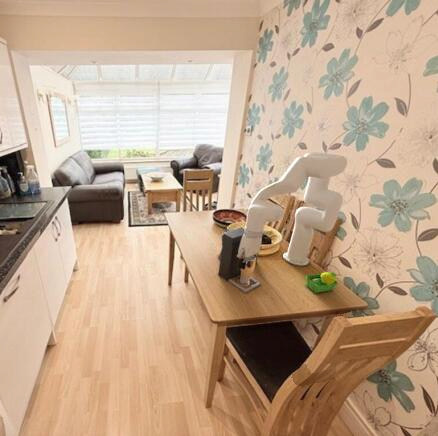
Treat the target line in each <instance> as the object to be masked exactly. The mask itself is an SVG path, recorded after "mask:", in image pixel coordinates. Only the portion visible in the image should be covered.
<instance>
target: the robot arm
mask: <svg viewBox="0 0 438 436" xmlns="http://www.w3.org/2000/svg"><path fill="white" fill-rule="evenodd" d="M347 166H348V159H347V158H346V157H345V156H344V155H340V154H333V153H325V152H315V151H314V152H313V151H312V152H307V153H306V154H304V155H302V156H298V157H297V158H296V159H295V160H294V161H293V162H292V164H291V165H290V166H289V167H288V169H287V170H286V172H284V174H283V175H282V176H281V178H280V179H279V180H278V181H276V182H273V183H271V184H269V185H267V186H265V187H264V188H262V189H261V190H259V191H258V192H257V194H256V195H255V196H254V198H252V200H251V203H250V204H249V207H248V209H247V215H246V220H245V225H244V226H245V227H244V229H245V231H244V235H243V237H242V239H241V242H240V246H239V251H238V253H239V254H238V255H237V257H238V259H239V265H238V266H239V267H240V268H241V269H243V270H244V269H245V265H246V262H245V261H246V259H247V257H250V256H252V255H254V256H255V257H256V259H257V260H258V256H259V253H260V252H261V250H262V248H263V247H262V243H263V242H262V240H263V235H264V229H265V224H266V223H272V222H273V223H274V222H277V221H280V220H281V219H282V218H283V217H284V214H285V209H284V208H283V207H282V206H280V205H279V204H276V203H273V202H270V201H268V200H269V199H270V198H273V197H274V196H275V197H276V196H278V195H286V194H293V193H296V192H298V191H299V189H300V188H301V187H302V186H303V184H304V183H305V182H306V181H307V179H308V181H307V185H306V187H305V192H304V196H303V202H304V204H306V205H309V206H301V207H299V208H298V209H296V211H295V214H294V227H293V230H292V234H291V238H290V241H289V244H288V248H287V252H284V253H283V255H282V257H283V259H284V260H285V261H286V262H287V263H289V264H291V265H294V266H302V267H304V266H308V265H309V263H310V260H309V258H308V256H309V255H308V254H310V253H311V252H310V249H311V245H312V242H313V239H314V236H315V231H314V230H317V231H320V232H323V233H328V232H331V231H332V230H333V229H334V227H335V225H336V222H337V219H338V217H339V215H340V214H339V213H340V211H341V208H342V206H343V201H344V198H343V195H342V194H341V193H340V192H338V191H334V190H330V189H328V188H329V184H330V181H331V178H333V177H336V176H339V175H341V174H342V173H343V172H344V171H345V170H346V168H347ZM320 209H321V210H320ZM243 254H245V255H243ZM243 256H244V257H245V258H244V259H243V258H242V257H243ZM256 264H257V262H256V263H255V265H256Z"/></svg>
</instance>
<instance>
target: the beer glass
mask: <svg viewBox="0 0 438 436" xmlns="http://www.w3.org/2000/svg"><path fill="white" fill-rule="evenodd" d="M243 255H245V254H243ZM242 258H243V259H244V258H245V257H244V256H243V257H242ZM245 262H246V265H245V269H244V270H243V269H241V268H240V267H239V276H237V280H236V283H237V284H239V285H240V286H242V287H250V286H251V280H250V278H251V277H252V275H253V273H254V271H255V268H256V264H257V262H256V257H255V256H254V255H252V256H250V257H247V259H246V261H245ZM255 263H256V264H255Z"/></svg>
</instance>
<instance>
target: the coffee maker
mask: <svg viewBox="0 0 438 436" xmlns="http://www.w3.org/2000/svg"><path fill="white" fill-rule="evenodd" d="M244 231H245V228H243V227H239V228H235V229H232V230H231V231H230V230H229V232H226V233H224V232H222V233H223V239H222V238H221V242H222V241H223V245H222V244H221V249H222V252H221V251H220V252H221V259H219V267H218V274H217V275H218V276H219V277H221V278H222V279H224V281H227V282H228V281H229V283H231V284H232V285H234V286H235V287H237V288H238V289H239V290H241V291H242V292H244V293H248V292H249V291H251V290H253V289H255V288H257V287H259V286H260V285H261V282H260V281H258V280H257V279H255V278H254V277H252V276H251V278H250V282H252V283H254V284H253V285H249V286H248V287H247V288H245V287H244V286H241V285H239V284H238V282H237V281H235V280H233V279H234V278H236V277H239V266H238V265H239V259H238V257H237V255H238V254H239V253H238V251H239V246H240V242H241V239H242V237H243V235H244Z"/></svg>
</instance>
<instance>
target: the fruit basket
mask: <svg viewBox="0 0 438 436" xmlns="http://www.w3.org/2000/svg"><path fill="white" fill-rule="evenodd" d="M336 279H337V274H336V273H335V272H333V271H330V272H328V271H327V272H322V273H318V274H312V275H306V276H305V280H306V286H307V287H308V288H309V289H310V290H311V291H313V293H315V294H317V293H322V292H327V291H328V292H330V291H332V290H333V289H334V288H335V287H336V286H338V284H339V282H338V281H337V280H336Z"/></svg>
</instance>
